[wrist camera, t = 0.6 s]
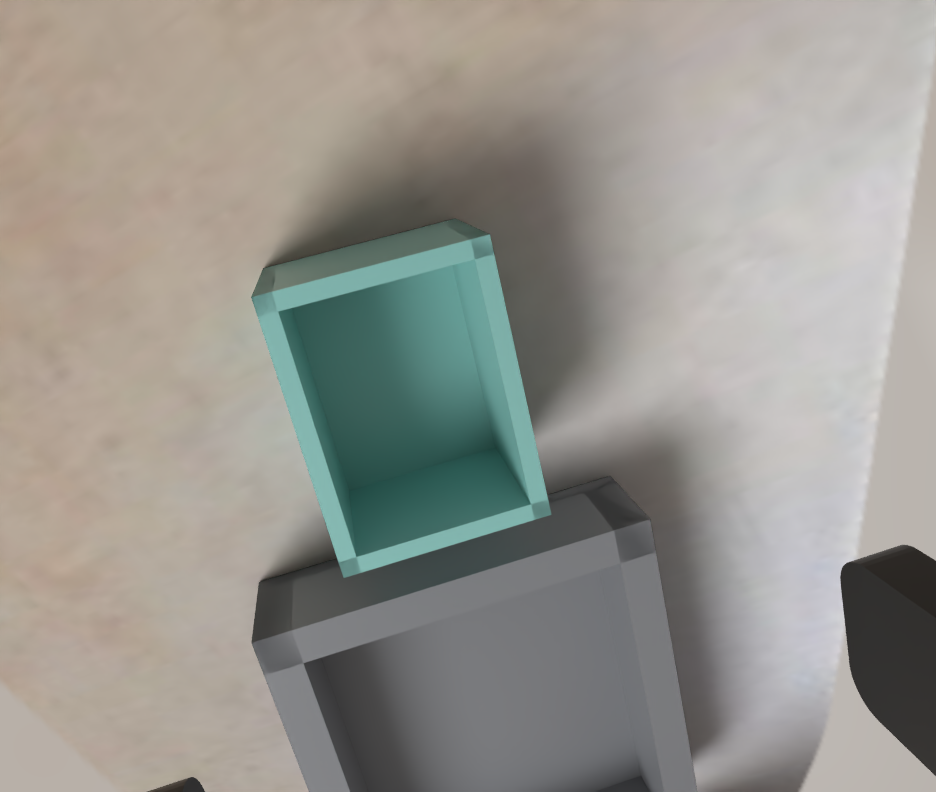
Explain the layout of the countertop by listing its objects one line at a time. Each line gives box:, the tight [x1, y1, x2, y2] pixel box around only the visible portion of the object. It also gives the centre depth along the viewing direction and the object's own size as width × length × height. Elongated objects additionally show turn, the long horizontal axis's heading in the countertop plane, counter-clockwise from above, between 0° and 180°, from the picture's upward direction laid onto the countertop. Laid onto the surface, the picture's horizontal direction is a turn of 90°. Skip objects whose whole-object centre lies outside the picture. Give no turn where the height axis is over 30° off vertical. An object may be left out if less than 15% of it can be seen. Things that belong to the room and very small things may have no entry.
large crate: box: [252, 476, 697, 792], centre depth 28 cm, size 14×13×4 cm
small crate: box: [251, 219, 551, 578], centre depth 23 cm, size 8×6×5 cm
